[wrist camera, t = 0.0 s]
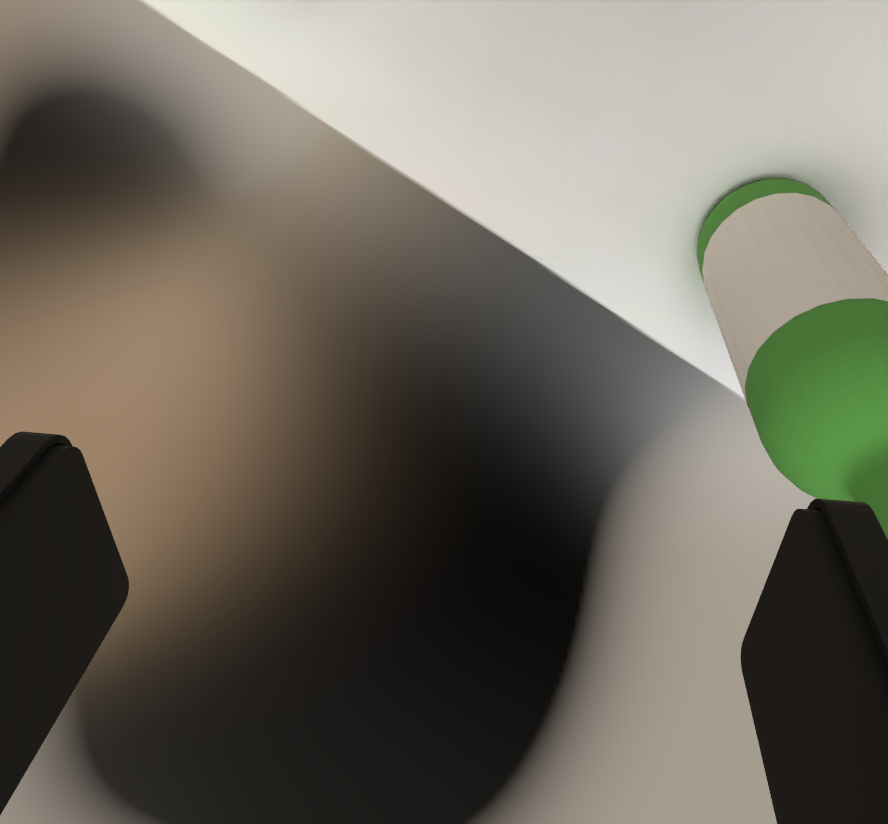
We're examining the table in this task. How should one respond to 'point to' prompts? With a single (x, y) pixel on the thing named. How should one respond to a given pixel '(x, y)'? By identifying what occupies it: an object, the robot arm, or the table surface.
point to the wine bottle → (804, 336)
